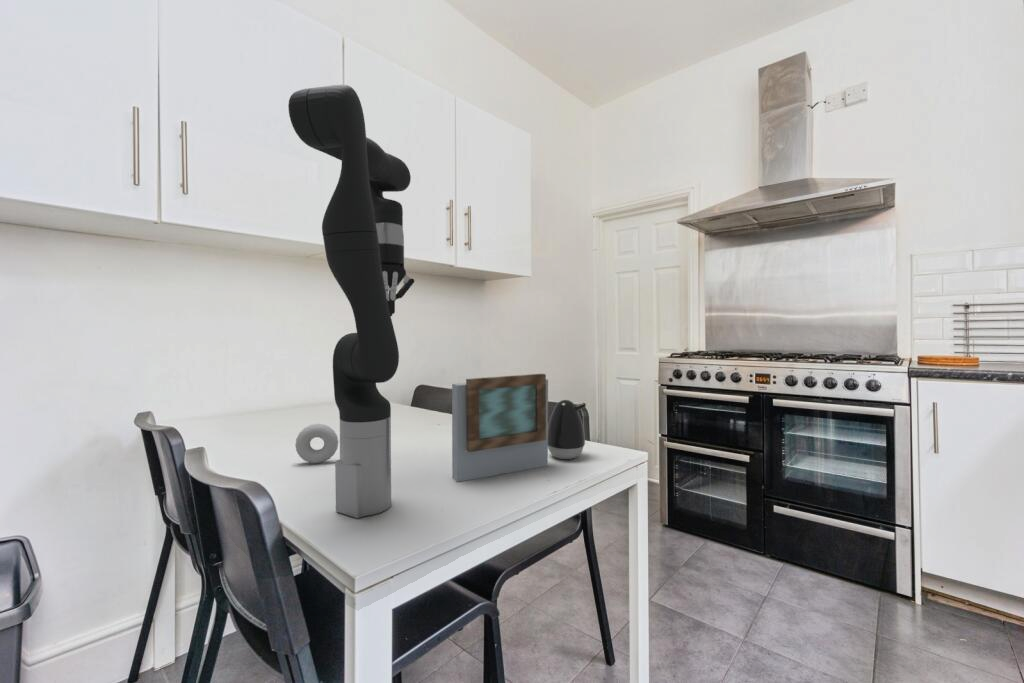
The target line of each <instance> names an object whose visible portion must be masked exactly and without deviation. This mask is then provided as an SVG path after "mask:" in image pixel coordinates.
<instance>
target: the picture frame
mask: <svg viewBox="0 0 1024 683" xmlns="http://www.w3.org/2000/svg"><path fill="white" fill-rule="evenodd" d="M546 377H547V375H546V373H533V374H532V373H531V374H520V375H515V374H514V375H504V376H502V375H501V376H488V377H487V376H486V377H478V378H477V377H476V378H475V377H474V378H472V377H471V378H466V379H465V383H466V418H467V451H469V452H474V451H480V450H486V449H493V448H499V447H505V446H512V445H518V444H525V443H531V442H537V441H544V440H546V379H547V378H546Z"/></svg>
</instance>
